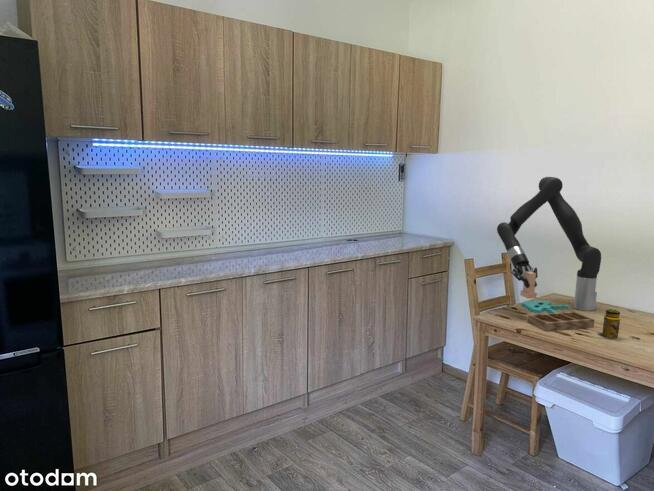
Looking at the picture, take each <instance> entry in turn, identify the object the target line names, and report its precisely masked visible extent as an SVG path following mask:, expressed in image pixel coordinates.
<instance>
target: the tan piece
mask: <svg viewBox="0 0 654 491" xmlns="http://www.w3.org/2000/svg"><path fill="white" fill-rule="evenodd" d="M525 276H526V279H527V280H528V282H529V284H530V287H529V288H526V287H525V285H524V283H523V282H522V283H523V284H522V285H523V286H522V289H521V290H520V296H521V297H523V298H525V299H528V300H529V299H536V298H537V296H538V295H537V294H538V292H535V290H536V287H535V281H536V279H537V278H536V273H533V272H525Z"/></svg>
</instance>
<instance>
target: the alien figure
mask: <svg viewBox="0 0 654 491" xmlns="http://www.w3.org/2000/svg"><path fill="white" fill-rule="evenodd" d="M551 304H552V302H551V301H547V300H541V301H540V300H535V301H534V300H531V301H527V300H525V301H523V302H522V303H521V307H522V308H524V309H525V308H526V310H527V311H529V310H530V313H533V312H534V313H533V314H538V313H539V314H542V313H543V312H546V314H547V313H559V312H557V310H569V307H570V305H568V304H563V305H562V304H558V305H557V304H552V305H551Z"/></svg>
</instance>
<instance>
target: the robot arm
mask: <svg viewBox="0 0 654 491" xmlns="http://www.w3.org/2000/svg"><path fill="white" fill-rule="evenodd" d="M538 189H539V191H538V192H537V193H536V194H535V195H534V196H533V197H532V198H531V199H529V200H528V201H526V202H525V203H523V204H522V205H521V206H519V207H518V208H517V209H516V211H514V212H513V213H512V214H511V216H510V218H509V219H510V221H509V222H506V221H505V222H500V223H499V224H498V225H497V227H496V231H497V232H496V233H497V234H498V236H499V238H500V239H501V241H502V243H503V246H504V248H505V250H506V251H507V252H506V253H507V254H508V258H509V259H510V263H511V264H512V267H513V269H512V270H511V271H510V273H511V274H512V275H513V276H514V277H515V278H516V279H517V281H519V282H520V281H521V282H522V283H524V285H525V287H526V288H529V287H530V284H529V282H528V280H527V279H526V276H525V272H533V273H536V279H537V278H538V268H537V267H532V266H531V265H530V261H529V259H528V257H527V255H526V253H525V251H524V249H523V247H522V245H521V244H520V242H519V240H518V239H517V237H516V234H517V233H518V231H519V230H520V228H521V226H522V225H524V223H525V222H526V221H528V219H530V218H531V216H533V214H534V213H536V212H537V210H539V209H540V208H542V206H544V205H545V204H546V203H548V204H549V206H550V208H551V210H552V212H553V215H554V216H555V217H556V220H557V222H558V223H559V226H560V228H561V229H562V231H563V232H564V234H565V236H566V237H567V239H568V241H569V243H570V244H571V247H572V249H573V251H574V254H575V257H576V258H577V260H579V261H580V262H581V268H580V269H578V270H577V272H576V282H575V291H574V299H573V301H574V302H573V308H574V309H576V310H579V311H589V312H590V311H595V310H596V306H597V294H598V293H597V292H596V288H597V280H598V275H599V272H600V270H601V263H602V252H601V250H599V248H596V247H594V246H591V245H590V244H589V243H588V241H587V239H586V237H585V236H584V232H583V224H582V221H581V220H580V218H579V216H578V214H577V212H576V211H575V209H574V208H573V207H572V206H571V205H570V204H569V203H568V201H566V200H565V198H564V197H563V196H562V194H561V191H562V189H563V181H562V180H561V179H560V178H559V177H554V176H545V177H543V178H541V179H540V180H539V182H538ZM537 286H538V284H537V281H536V280H535V288H536V287H537Z"/></svg>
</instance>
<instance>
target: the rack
mask: <svg viewBox="0 0 654 491" xmlns="http://www.w3.org/2000/svg"><path fill="white" fill-rule="evenodd" d="M527 323H528V324H530V325H532V326H534V327H536V328H539V329H541V330H543V331H545V332H555V331H565V330H567V331H568V330H577V329H589V328H594V325H595V319H594V318H592V317H589V316H586V315H583V314H580V313H579V312H576V311H564V312H562V311H561V312H558V313H547V312H546V313H540V314H538V313H533V314H528V316H527Z"/></svg>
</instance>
